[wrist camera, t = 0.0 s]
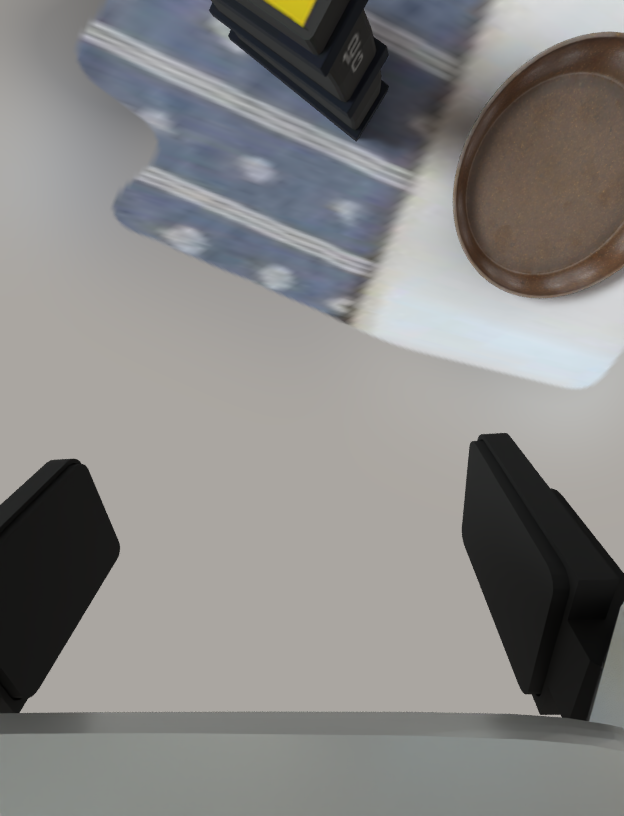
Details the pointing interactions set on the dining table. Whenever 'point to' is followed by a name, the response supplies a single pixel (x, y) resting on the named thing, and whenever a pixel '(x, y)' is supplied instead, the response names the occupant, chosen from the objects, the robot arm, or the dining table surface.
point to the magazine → (314, 52)
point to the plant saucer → (548, 173)
